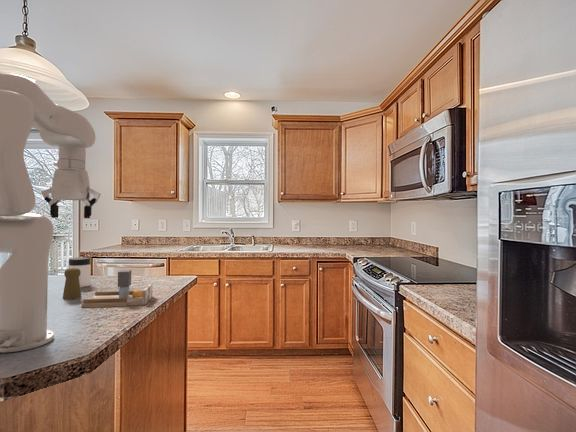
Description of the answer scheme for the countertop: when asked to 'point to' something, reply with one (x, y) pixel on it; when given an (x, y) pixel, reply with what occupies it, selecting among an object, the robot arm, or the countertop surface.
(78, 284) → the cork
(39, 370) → the countertop surface
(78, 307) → the countertop surface
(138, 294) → the ball
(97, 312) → the countertop surface
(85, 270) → the jar
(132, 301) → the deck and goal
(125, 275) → the grey stepped block
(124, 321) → the countertop surface
